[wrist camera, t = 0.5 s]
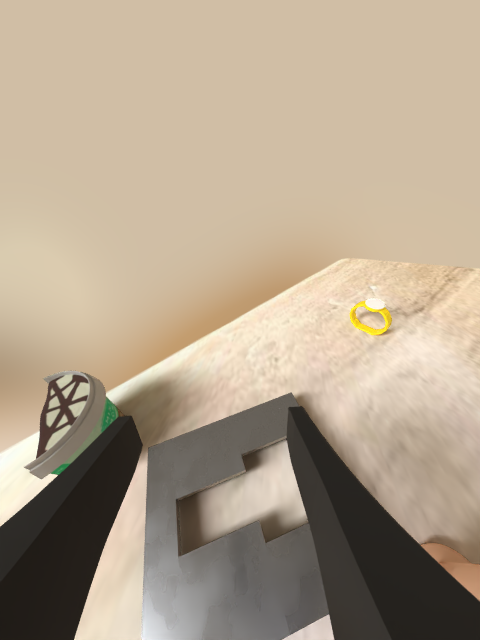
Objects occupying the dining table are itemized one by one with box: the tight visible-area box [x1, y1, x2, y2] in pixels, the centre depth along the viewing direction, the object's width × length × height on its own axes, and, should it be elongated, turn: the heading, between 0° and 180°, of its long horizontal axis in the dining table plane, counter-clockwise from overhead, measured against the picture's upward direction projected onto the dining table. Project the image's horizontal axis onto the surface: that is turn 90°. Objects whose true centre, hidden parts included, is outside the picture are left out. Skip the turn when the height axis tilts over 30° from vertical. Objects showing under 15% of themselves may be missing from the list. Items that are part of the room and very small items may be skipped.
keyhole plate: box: [141, 392, 329, 640], centre depth 21 cm, size 16×19×2 cm
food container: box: [24, 371, 124, 479], centre depth 26 cm, size 12×6×10 cm, turn 31°
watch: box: [350, 298, 392, 335], centre depth 34 cm, size 6×3×6 cm, turn 40°
